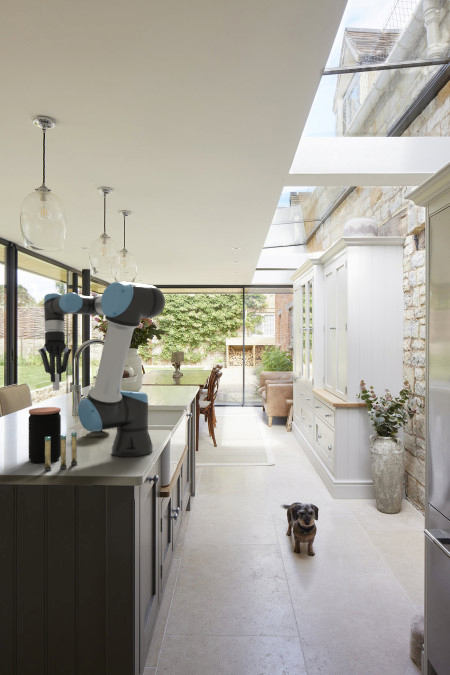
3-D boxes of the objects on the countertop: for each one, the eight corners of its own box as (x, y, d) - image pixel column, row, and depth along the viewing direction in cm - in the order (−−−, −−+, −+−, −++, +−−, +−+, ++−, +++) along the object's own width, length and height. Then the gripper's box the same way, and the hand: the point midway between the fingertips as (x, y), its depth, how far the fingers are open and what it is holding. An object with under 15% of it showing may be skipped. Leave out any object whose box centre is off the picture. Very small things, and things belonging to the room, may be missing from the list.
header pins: (43, 470, 142) (43, 436, 142) (75, 463, 150) (75, 431, 150) (48, 473, 140) (48, 438, 140) (80, 466, 147) (80, 433, 147)
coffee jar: (44, 454, 162) (44, 406, 162) (67, 457, 158) (67, 408, 158) (21, 462, 152) (21, 410, 152) (45, 465, 148) (45, 412, 148)
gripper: (66, 334, 184) (67, 390, 181) (34, 332, 175) (35, 391, 172) (74, 331, 179) (76, 389, 176) (42, 329, 169) (43, 390, 166)
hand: (56, 390), depth 174 cm, fingers closed
